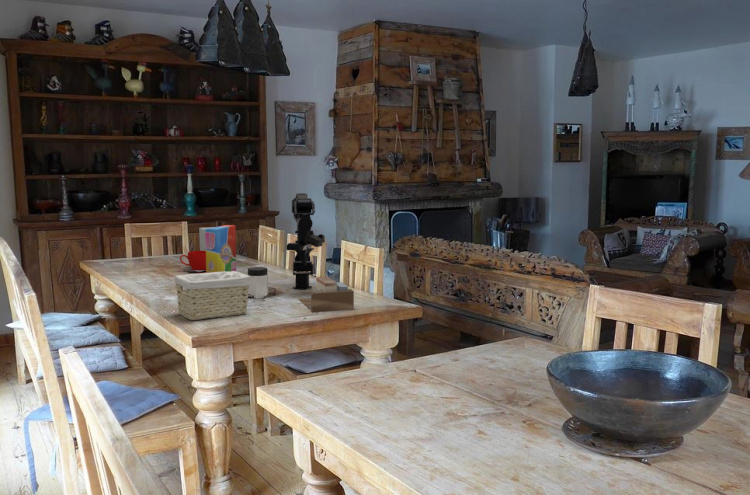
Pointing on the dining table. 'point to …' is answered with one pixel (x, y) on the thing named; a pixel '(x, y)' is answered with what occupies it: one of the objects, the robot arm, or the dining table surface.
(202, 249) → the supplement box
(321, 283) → the boxed book
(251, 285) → the jar
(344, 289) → the small books
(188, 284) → the storage basket
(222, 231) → the game box
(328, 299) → the shelf
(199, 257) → the ceramic cup
